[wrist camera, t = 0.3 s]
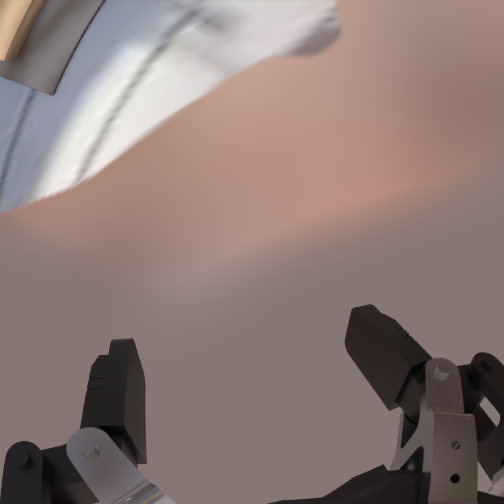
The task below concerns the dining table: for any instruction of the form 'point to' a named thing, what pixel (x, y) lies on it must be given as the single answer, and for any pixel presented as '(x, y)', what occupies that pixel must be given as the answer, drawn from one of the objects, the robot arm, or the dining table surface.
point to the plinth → (41, 38)
